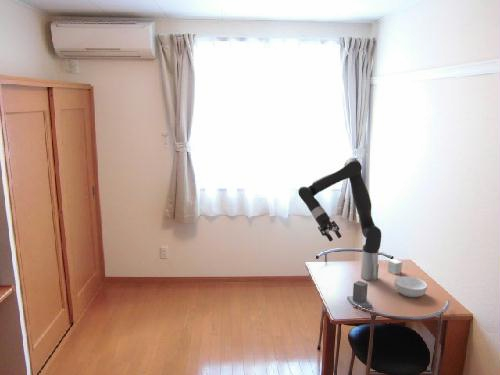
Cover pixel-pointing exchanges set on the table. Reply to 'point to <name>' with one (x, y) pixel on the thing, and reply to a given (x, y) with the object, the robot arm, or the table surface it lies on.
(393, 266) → the product box
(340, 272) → the table surface
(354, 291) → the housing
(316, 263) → the table surface
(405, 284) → the cereal bowl
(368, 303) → the stub base
